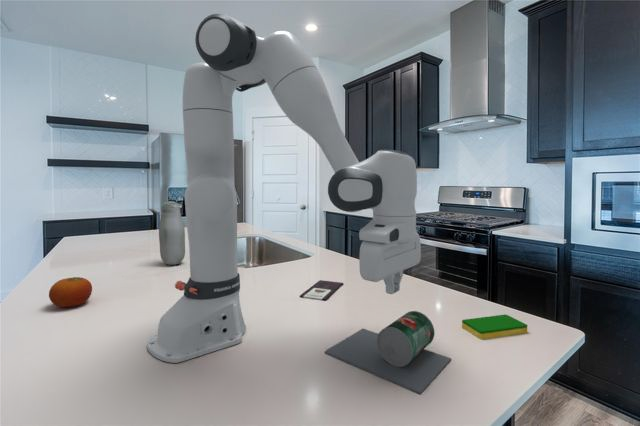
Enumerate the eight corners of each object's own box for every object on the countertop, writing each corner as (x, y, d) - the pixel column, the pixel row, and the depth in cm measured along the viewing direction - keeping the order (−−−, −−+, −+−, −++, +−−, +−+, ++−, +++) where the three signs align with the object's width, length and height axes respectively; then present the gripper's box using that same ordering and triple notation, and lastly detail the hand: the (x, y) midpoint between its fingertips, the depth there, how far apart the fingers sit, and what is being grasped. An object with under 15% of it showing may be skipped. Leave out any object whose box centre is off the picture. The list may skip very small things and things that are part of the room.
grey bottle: (165, 262, 155) (162, 200, 152) (188, 261, 156) (185, 200, 153) (157, 267, 145) (153, 202, 142) (182, 266, 146) (179, 201, 143)
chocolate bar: (343, 282, 122) (325, 299, 106) (343, 285, 122) (325, 302, 106) (319, 280, 126) (299, 295, 109) (319, 282, 126) (299, 298, 109)
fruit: (41, 308, 100) (39, 282, 99) (77, 297, 109) (75, 272, 109) (66, 313, 96) (64, 286, 95) (101, 301, 106) (99, 276, 105)
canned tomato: (418, 304, 76) (395, 320, 67) (442, 336, 73) (420, 357, 65) (395, 320, 80) (369, 337, 72) (415, 351, 77) (392, 373, 69)
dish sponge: (460, 328, 87) (461, 319, 87) (505, 322, 91) (506, 313, 91) (480, 341, 80) (481, 331, 80) (528, 334, 84) (528, 325, 84)
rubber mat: (420, 394, 60) (420, 392, 60) (324, 353, 74) (324, 351, 74) (451, 360, 71) (451, 358, 71) (362, 329, 86) (362, 328, 86)
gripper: (403, 222, 81) (402, 278, 83) (353, 232, 66) (353, 301, 67) (428, 224, 77) (427, 283, 79) (382, 236, 62) (381, 309, 63)
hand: (392, 292), depth 73 cm, fingers closed
